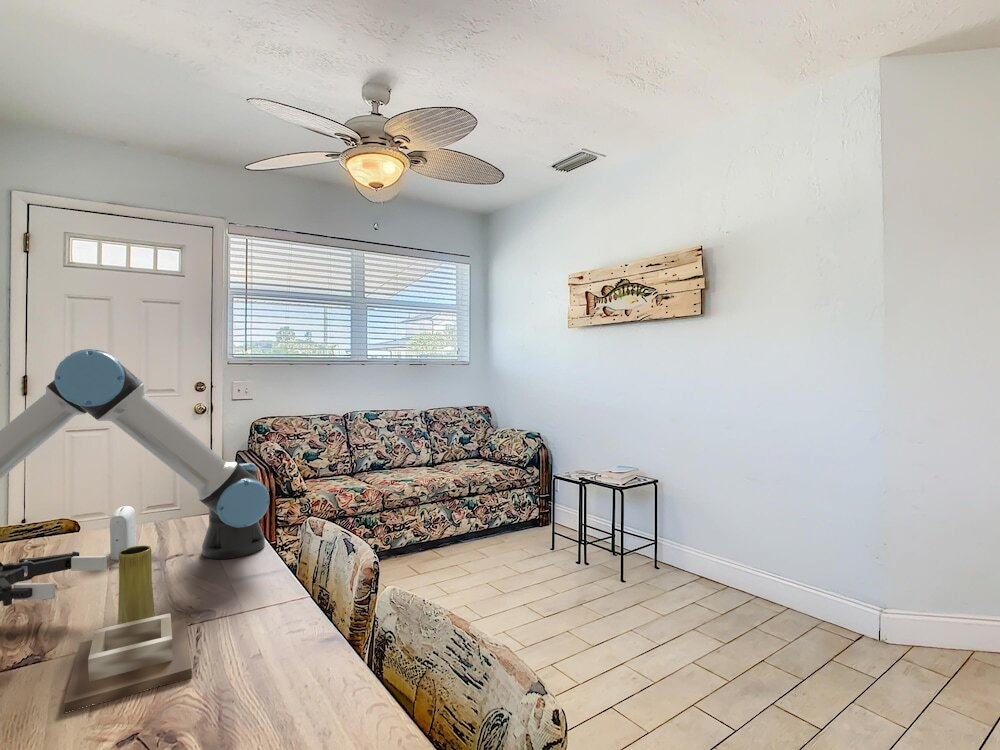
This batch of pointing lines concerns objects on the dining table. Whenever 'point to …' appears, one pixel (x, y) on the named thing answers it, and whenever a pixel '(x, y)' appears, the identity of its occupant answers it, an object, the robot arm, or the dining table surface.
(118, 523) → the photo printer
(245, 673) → the dining table surface
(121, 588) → the vase
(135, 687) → the stand
